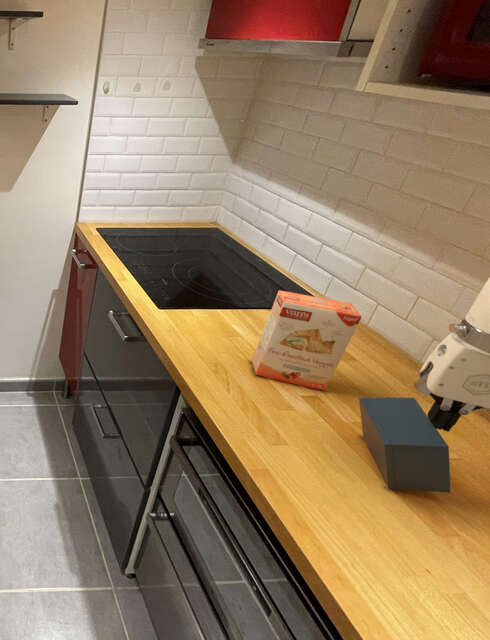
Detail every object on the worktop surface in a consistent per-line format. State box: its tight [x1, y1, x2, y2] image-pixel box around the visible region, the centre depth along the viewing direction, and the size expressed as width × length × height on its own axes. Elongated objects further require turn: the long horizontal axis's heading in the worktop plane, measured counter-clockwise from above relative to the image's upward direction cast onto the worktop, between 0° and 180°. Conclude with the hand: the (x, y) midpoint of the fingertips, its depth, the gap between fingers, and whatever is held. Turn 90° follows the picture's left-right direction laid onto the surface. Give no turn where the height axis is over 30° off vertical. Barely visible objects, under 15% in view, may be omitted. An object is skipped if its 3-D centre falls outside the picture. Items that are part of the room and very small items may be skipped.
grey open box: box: [358, 396, 452, 494], centre depth 81 cm, size 8×12×10 cm, turn 157°
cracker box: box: [251, 290, 362, 392], centre depth 101 cm, size 14×6×21 cm, turn 68°
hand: (437, 424), depth 78 cm, fingers closed
